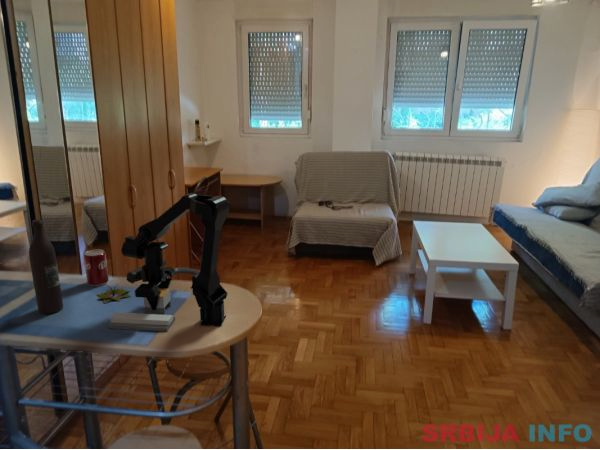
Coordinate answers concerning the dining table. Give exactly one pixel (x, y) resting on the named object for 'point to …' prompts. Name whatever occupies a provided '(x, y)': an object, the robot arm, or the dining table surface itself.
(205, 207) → the robot arm
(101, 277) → the soda can
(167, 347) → the dining table surface
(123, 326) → the rail
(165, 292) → the block
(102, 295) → the lily flower
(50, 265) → the wine bottle
